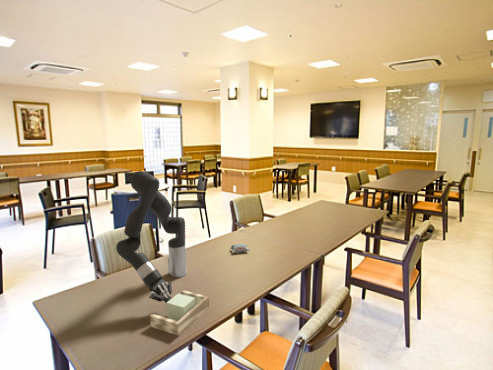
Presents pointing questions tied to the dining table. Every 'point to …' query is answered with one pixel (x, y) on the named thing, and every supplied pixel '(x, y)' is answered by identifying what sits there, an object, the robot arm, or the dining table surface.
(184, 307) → the sage block
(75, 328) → the dining table surface
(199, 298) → the birch corral
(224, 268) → the dining table surface
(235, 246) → the packaged food
